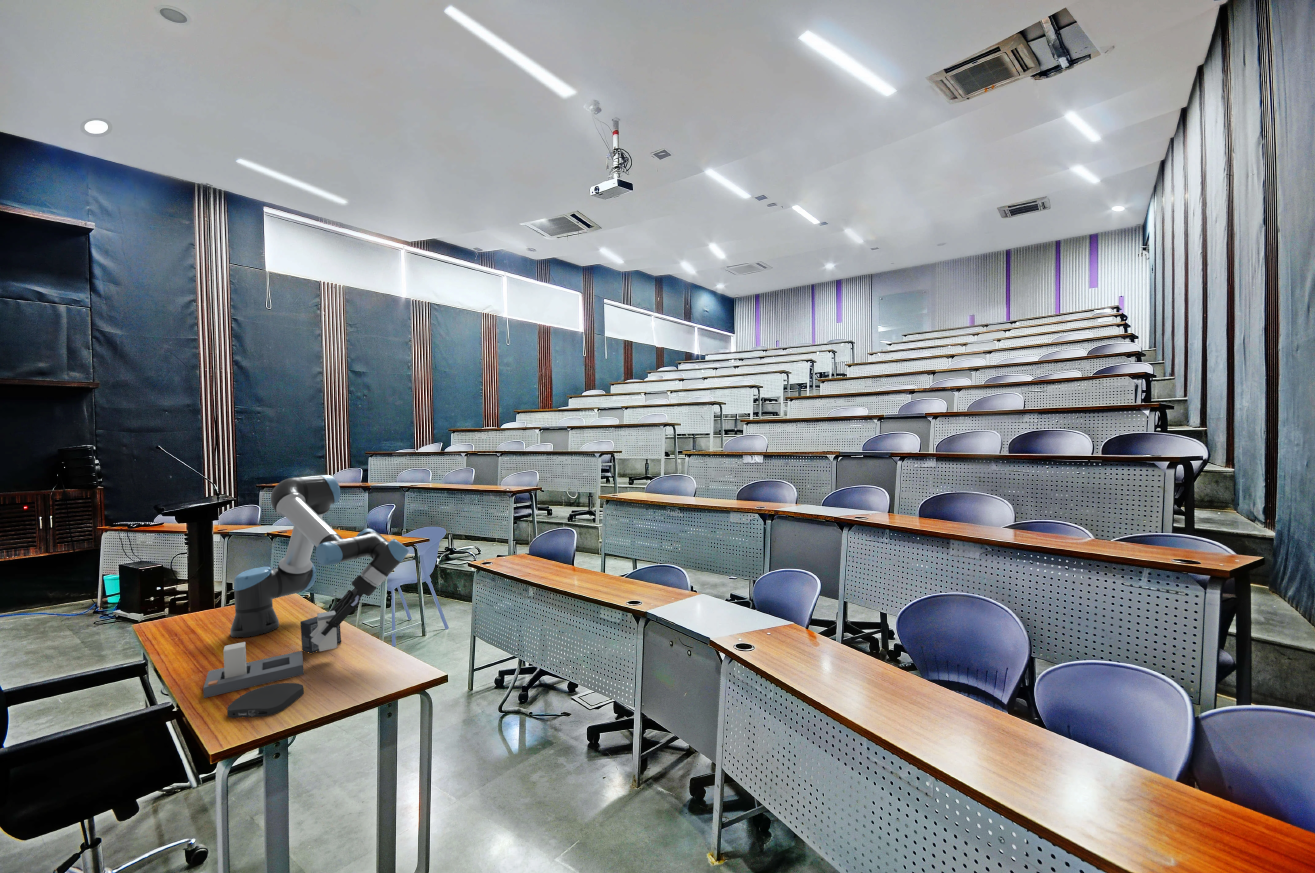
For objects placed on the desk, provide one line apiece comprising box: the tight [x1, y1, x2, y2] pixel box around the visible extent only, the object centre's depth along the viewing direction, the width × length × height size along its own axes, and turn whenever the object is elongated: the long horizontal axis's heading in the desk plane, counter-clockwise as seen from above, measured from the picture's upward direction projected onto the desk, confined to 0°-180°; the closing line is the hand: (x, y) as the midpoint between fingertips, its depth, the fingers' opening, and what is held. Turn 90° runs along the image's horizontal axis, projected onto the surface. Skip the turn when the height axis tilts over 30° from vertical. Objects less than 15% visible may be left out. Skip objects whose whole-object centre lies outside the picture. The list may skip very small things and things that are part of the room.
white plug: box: [316, 610, 338, 652], centre depth 180 cm, size 5×5×11 cm
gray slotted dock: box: [202, 641, 305, 699], centre depth 168 cm, size 14×24×11 cm, turn 125°
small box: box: [299, 616, 342, 654], centre depth 192 cm, size 11×6×10 cm, turn 149°
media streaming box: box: [226, 682, 305, 719], centre depth 151 cm, size 15×15×3 cm
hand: (314, 639), depth 178 cm, fingers closed on white plug, 5 cm apart
